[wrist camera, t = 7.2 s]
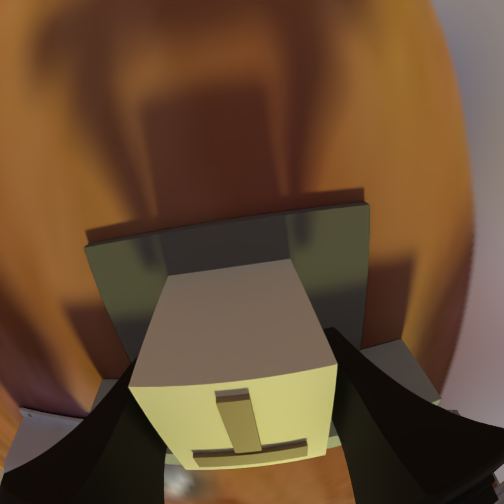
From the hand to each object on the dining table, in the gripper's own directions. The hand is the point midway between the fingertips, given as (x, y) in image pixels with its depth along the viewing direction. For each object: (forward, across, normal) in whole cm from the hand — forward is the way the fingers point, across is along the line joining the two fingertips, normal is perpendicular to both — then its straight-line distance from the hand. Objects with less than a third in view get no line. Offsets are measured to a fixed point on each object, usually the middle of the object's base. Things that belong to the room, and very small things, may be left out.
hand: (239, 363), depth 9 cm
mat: (+4, 0, 0) cm, 4 cm away
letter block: (+3, 0, 0) cm, 3 cm away
